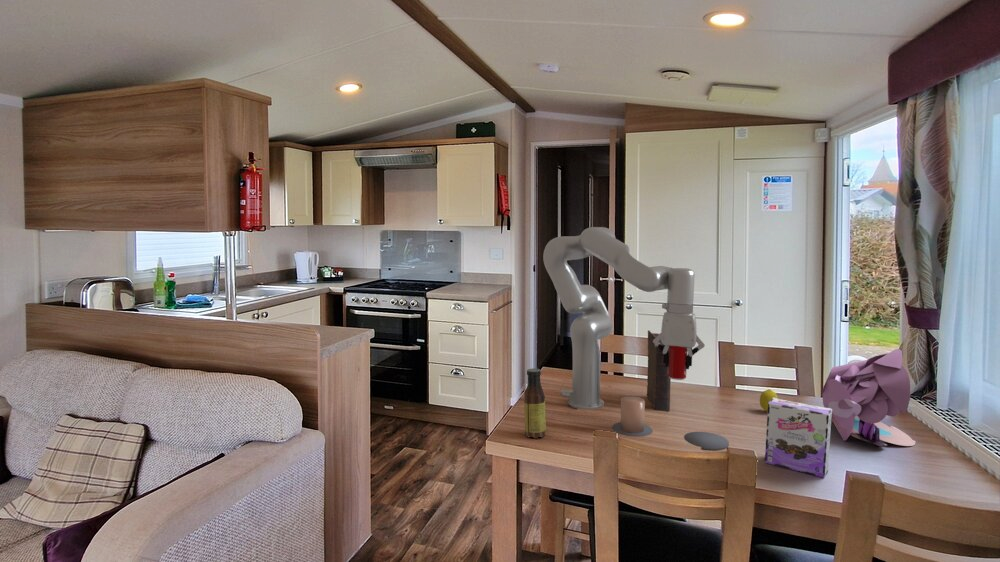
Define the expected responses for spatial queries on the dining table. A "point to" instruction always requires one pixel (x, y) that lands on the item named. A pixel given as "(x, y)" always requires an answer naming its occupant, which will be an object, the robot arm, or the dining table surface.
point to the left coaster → (646, 432)
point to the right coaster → (707, 440)
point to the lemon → (767, 398)
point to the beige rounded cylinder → (632, 414)
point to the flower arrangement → (869, 398)
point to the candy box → (798, 436)
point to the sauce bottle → (534, 405)
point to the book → (657, 376)
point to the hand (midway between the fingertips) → (677, 366)
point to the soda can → (677, 362)
